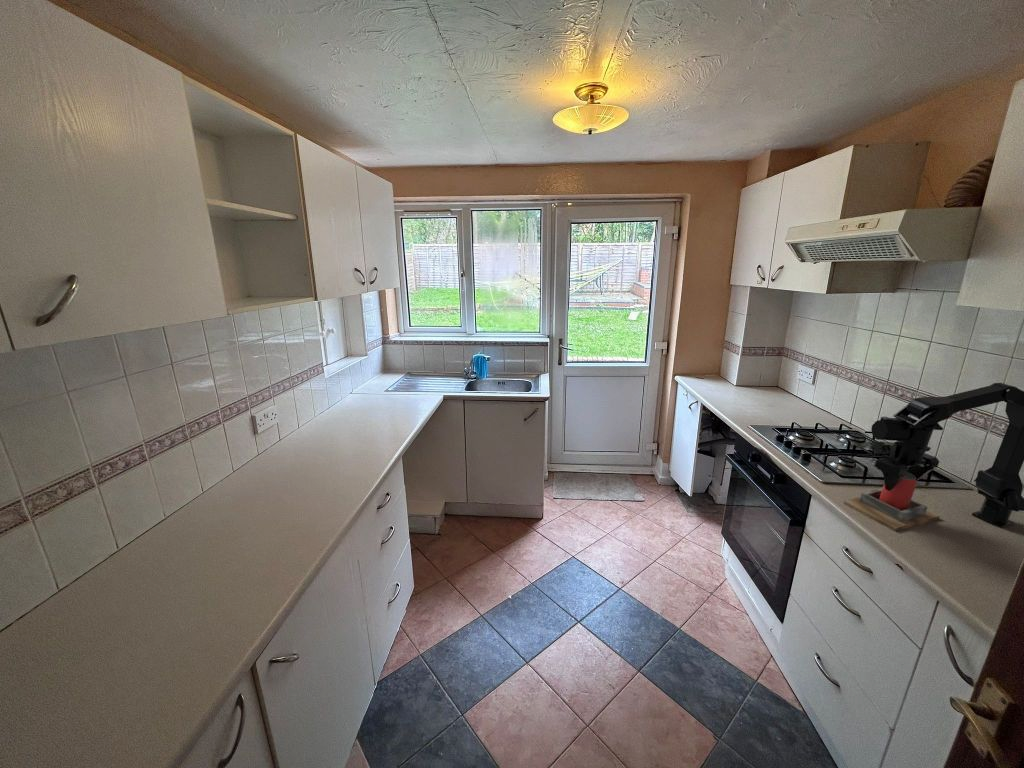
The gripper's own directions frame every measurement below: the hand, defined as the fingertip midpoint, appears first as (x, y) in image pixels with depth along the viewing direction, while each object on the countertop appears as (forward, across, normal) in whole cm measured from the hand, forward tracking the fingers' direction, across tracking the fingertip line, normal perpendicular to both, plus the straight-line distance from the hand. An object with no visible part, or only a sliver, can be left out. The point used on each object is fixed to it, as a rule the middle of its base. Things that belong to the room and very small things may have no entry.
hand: (897, 487), depth 121 cm
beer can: (+8, 0, 0) cm, 8 cm away
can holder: (+8, 0, 0) cm, 8 cm away
